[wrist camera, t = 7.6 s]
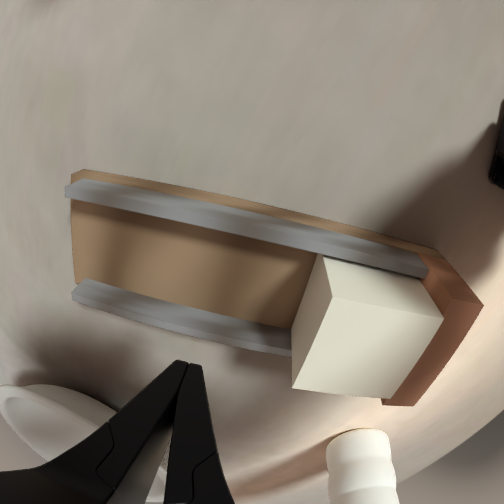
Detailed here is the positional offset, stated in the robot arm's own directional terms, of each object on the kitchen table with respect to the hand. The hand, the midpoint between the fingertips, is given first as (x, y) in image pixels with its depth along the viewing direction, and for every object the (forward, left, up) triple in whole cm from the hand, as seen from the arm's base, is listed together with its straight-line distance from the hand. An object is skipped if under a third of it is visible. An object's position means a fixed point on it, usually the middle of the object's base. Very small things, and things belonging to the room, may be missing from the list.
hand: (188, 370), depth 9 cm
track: (-1, +2, -11) cm, 11 cm away
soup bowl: (+12, +28, -11) cm, 33 cm away
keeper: (-8, +2, -9) cm, 12 cm away
